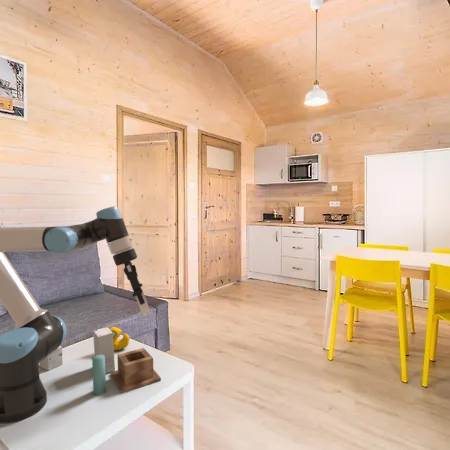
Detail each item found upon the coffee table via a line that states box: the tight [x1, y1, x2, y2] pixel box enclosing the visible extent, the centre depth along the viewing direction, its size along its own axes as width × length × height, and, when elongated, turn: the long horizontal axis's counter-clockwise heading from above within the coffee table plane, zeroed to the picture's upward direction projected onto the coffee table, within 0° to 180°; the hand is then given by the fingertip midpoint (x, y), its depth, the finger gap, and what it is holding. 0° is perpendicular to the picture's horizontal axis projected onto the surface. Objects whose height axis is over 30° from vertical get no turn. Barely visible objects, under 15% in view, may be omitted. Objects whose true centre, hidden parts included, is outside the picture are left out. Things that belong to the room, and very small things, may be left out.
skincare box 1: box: [39, 345, 63, 372], centre depth 128 cm, size 6×6×7 cm
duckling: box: [109, 326, 130, 352], centre depth 142 cm, size 11×5×10 cm, turn 105°
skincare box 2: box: [92, 326, 116, 374], centre depth 126 cm, size 8×6×15 cm
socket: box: [110, 347, 162, 394], centre depth 119 cm, size 14×14×8 cm
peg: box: [91, 355, 107, 396], centre depth 110 cm, size 4×4×12 cm
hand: (145, 308), depth 112 cm, fingers open, 13 cm apart
